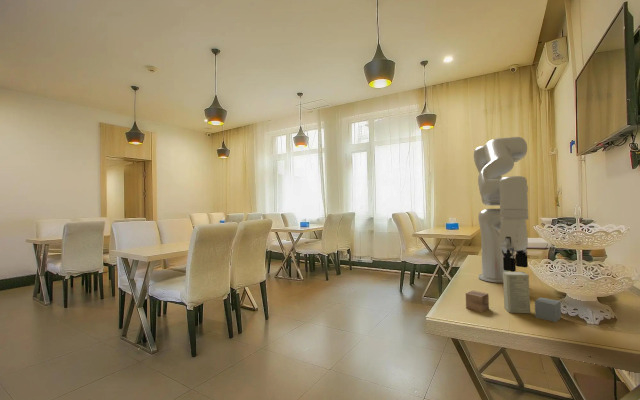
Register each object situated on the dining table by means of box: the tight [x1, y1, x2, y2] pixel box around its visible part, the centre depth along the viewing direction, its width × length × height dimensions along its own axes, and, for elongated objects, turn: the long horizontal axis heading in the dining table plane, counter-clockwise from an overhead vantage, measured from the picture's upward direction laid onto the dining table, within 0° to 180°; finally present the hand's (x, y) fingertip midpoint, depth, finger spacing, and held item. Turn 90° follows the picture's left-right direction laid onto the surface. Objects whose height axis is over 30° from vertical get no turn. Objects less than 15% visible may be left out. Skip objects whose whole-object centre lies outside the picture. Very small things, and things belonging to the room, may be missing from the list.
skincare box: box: [502, 271, 531, 314], centre depth 96 cm, size 6×4×12 cm
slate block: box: [534, 296, 562, 323], centre depth 90 cm, size 5×5×5 cm
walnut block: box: [465, 290, 490, 313], centre depth 98 cm, size 5×5×5 cm
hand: (515, 268), depth 95 cm, fingers open, 9 cm apart
